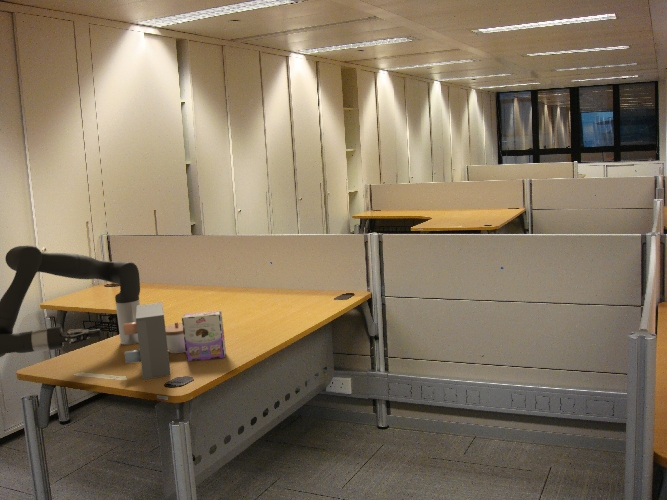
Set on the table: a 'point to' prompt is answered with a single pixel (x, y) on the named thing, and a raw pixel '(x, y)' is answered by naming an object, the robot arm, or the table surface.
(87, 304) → the table surface
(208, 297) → the table surface
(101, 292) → the table surface
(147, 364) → the console panel
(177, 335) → the lidded container
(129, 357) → the slate blue button
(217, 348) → the candy box
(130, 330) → the terracotta button
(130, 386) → the table surface
